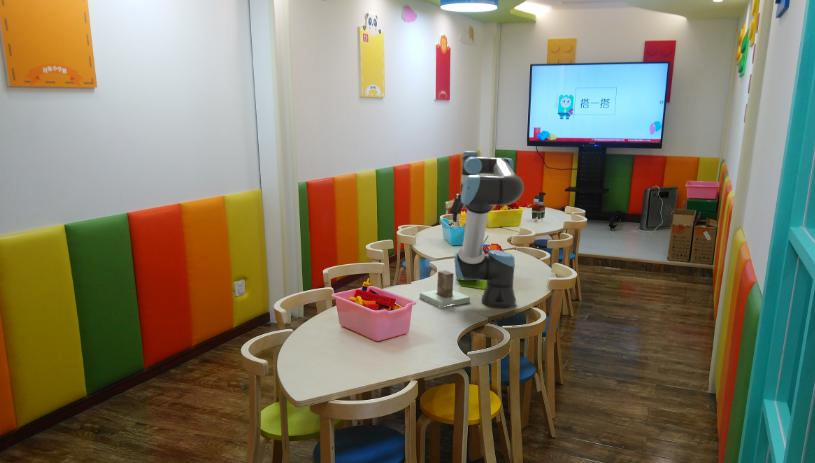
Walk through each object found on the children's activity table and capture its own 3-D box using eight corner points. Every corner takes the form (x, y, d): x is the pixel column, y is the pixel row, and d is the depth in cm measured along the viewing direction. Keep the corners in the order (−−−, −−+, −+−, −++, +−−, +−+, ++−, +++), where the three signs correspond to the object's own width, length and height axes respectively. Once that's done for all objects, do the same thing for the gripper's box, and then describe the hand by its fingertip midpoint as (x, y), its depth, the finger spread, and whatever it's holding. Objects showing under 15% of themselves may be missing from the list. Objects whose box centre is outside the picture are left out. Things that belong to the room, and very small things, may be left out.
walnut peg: (452, 301, 258) (453, 273, 255) (445, 302, 256) (446, 274, 253) (443, 297, 263) (445, 270, 260) (436, 299, 260) (438, 271, 258)
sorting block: (469, 302, 257) (469, 297, 257) (441, 308, 248) (441, 302, 248) (447, 292, 270) (447, 287, 269) (419, 298, 261) (419, 292, 260)
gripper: (482, 181, 285) (480, 223, 289) (443, 183, 271) (441, 228, 275) (493, 183, 279) (490, 226, 283) (453, 185, 265) (451, 230, 269)
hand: (466, 227), depth 279 cm, fingers open, 13 cm apart
